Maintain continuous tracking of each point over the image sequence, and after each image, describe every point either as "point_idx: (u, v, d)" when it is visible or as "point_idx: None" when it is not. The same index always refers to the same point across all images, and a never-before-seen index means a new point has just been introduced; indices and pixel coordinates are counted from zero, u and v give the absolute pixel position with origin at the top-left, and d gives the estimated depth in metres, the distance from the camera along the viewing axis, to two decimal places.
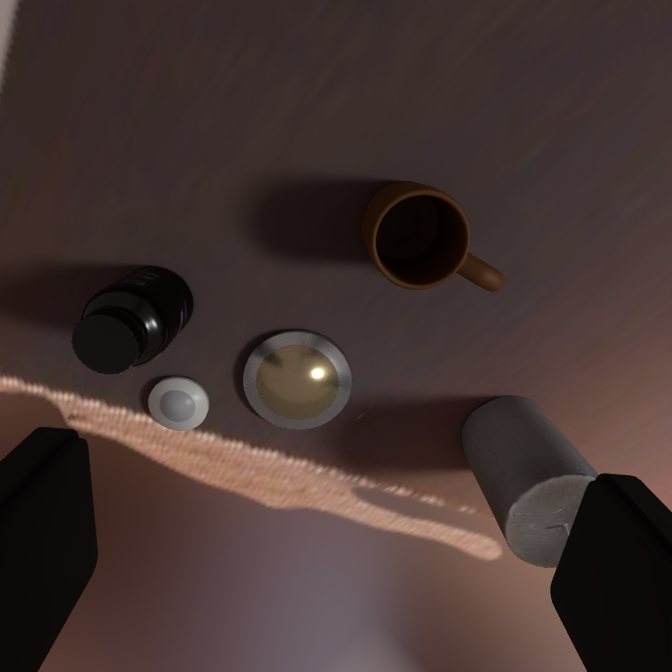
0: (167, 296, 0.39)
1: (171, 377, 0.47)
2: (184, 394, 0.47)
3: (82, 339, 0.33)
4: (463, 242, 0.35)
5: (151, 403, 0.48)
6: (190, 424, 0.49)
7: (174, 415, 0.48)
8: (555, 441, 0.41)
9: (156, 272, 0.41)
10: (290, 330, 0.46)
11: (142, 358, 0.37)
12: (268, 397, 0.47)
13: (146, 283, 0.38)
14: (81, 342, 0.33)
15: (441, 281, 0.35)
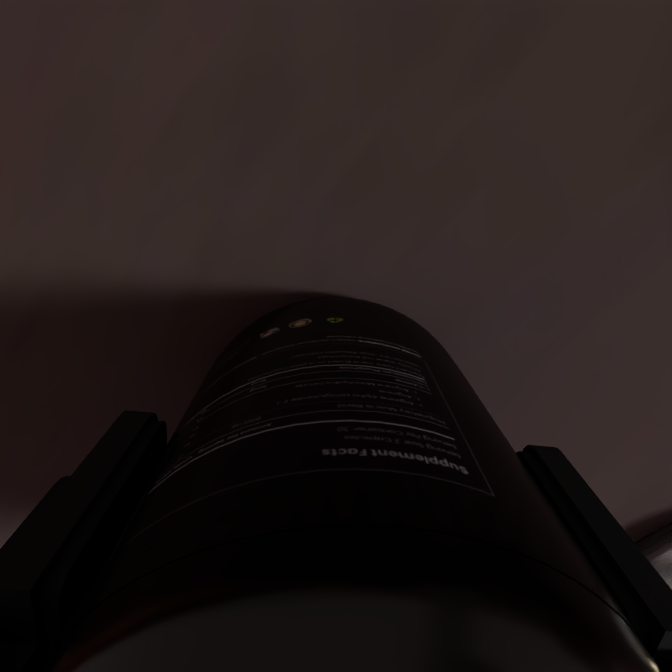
0: None
1: None
2: None
3: None
4: None
5: None
6: None
7: None
8: None
9: (388, 332, 0.09)
10: None
11: None
12: None
13: (453, 439, 0.06)
14: None
15: None
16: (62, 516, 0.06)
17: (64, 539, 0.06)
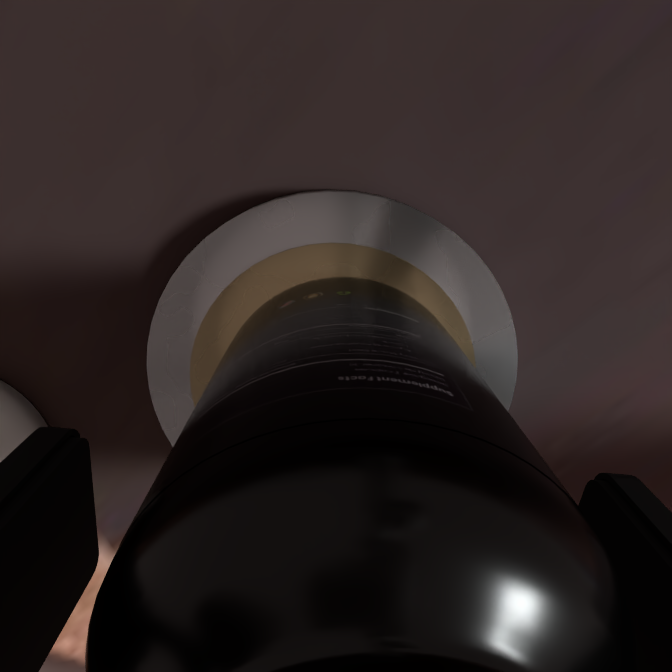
0: None
1: None
2: None
3: None
4: None
5: None
6: None
7: None
8: None
9: (389, 302, 0.10)
10: (309, 191, 0.13)
11: None
12: None
13: (442, 376, 0.07)
14: None
15: None
16: None
17: None
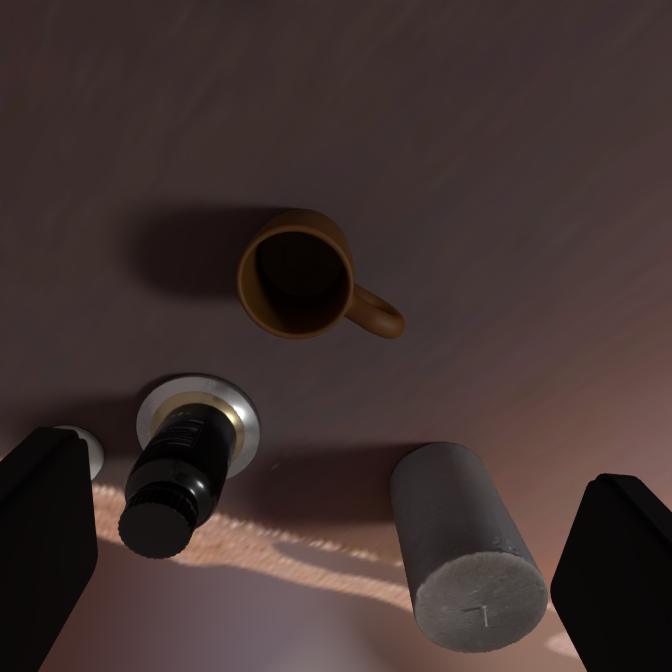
0: (215, 450, 0.36)
1: None
2: None
3: (130, 527, 0.30)
4: None
5: None
6: None
7: None
8: (478, 503, 0.36)
9: (199, 416, 0.38)
10: (186, 375, 0.41)
11: None
12: None
13: (192, 441, 0.35)
14: (129, 529, 0.30)
15: (324, 329, 0.30)
16: None
17: None
